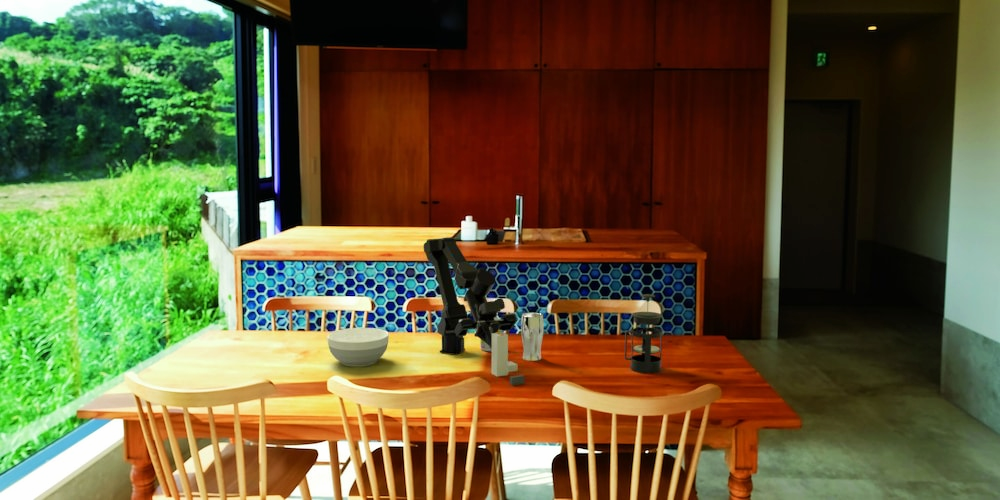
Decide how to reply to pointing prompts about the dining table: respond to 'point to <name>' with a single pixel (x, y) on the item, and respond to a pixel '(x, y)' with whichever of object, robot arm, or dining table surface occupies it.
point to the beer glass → (532, 335)
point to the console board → (515, 379)
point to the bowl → (358, 345)
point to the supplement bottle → (484, 345)
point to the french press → (645, 342)
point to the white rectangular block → (499, 354)
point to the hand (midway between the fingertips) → (495, 348)
